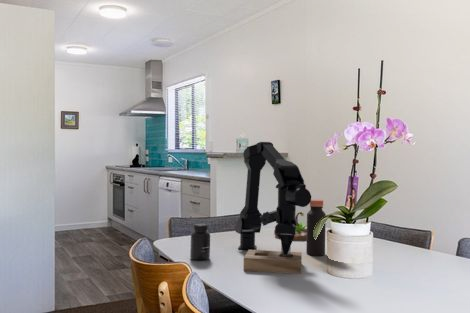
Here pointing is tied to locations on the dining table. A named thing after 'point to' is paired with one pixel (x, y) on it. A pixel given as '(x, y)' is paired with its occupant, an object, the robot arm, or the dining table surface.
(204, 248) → the supplement bottle
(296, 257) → the peg board
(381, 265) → the dining table surface
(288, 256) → the peg
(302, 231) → the plant
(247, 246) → the robot arm
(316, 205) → the vinegar
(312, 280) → the dining table surface
